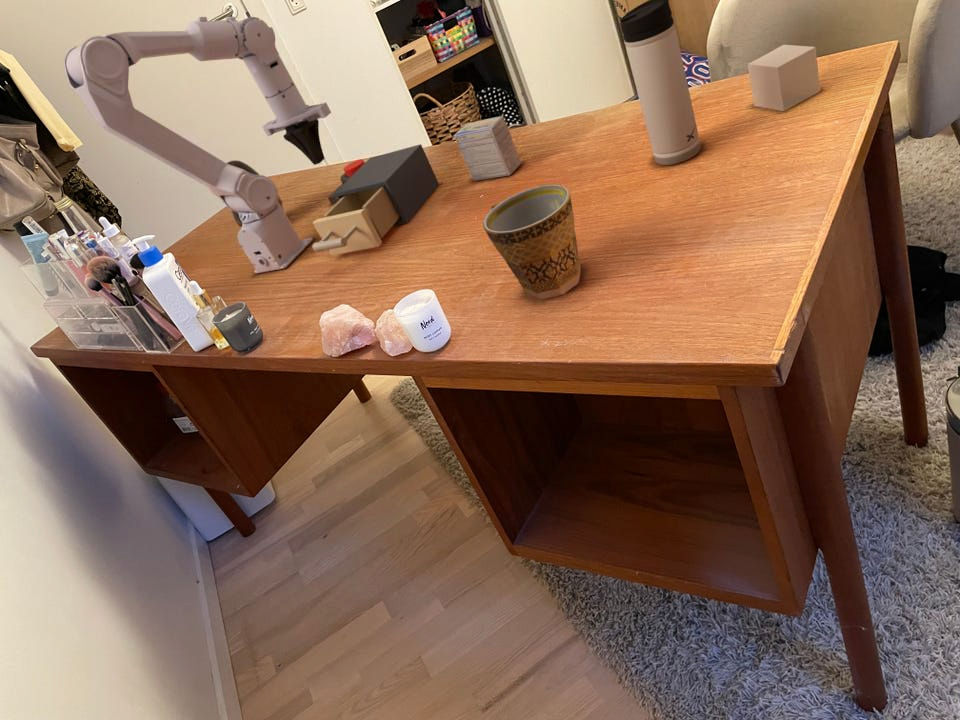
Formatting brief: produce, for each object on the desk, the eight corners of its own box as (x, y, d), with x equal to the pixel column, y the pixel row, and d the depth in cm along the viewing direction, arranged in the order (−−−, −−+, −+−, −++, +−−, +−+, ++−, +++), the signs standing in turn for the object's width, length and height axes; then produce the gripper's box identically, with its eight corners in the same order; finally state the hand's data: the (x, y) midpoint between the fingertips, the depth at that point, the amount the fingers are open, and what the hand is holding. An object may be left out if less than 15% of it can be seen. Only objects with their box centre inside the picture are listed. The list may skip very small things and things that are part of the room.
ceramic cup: (613, 268, 77) (587, 190, 72) (547, 317, 75) (515, 239, 69) (546, 247, 88) (519, 177, 82) (486, 289, 85) (454, 220, 80)
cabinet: (407, 223, 114) (386, 180, 110) (355, 233, 120) (333, 193, 116) (439, 184, 123) (421, 143, 119) (389, 196, 129) (370, 157, 125)
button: (360, 175, 136) (356, 167, 135) (343, 179, 138) (339, 171, 137) (370, 165, 139) (366, 157, 138) (354, 169, 141) (350, 161, 140)
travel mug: (709, 152, 91) (676, -4, 80) (660, 170, 92) (621, 19, 82) (697, 138, 96) (665, -12, 85) (651, 155, 97) (613, 10, 87)
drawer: (364, 263, 105) (345, 229, 102) (315, 272, 110) (295, 239, 107) (412, 207, 116) (396, 174, 113) (366, 217, 122) (349, 186, 118)
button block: (369, 196, 134) (361, 180, 132) (331, 205, 139) (323, 189, 137) (396, 167, 142) (389, 152, 140) (359, 177, 147) (352, 162, 145)
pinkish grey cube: (789, 87, 98) (783, 44, 94) (820, 91, 93) (815, 46, 89) (754, 106, 97) (747, 64, 94) (783, 111, 92) (777, 67, 89)
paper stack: (522, 163, 115) (504, 114, 110) (510, 176, 112) (491, 127, 108) (485, 169, 120) (466, 122, 115) (472, 182, 117) (452, 134, 113)
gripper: (322, 70, 118) (359, 143, 125) (264, 92, 125) (302, 159, 133) (300, 86, 113) (340, 161, 121) (241, 108, 121) (282, 177, 128)
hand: (319, 161), depth 126 cm, fingers closed
